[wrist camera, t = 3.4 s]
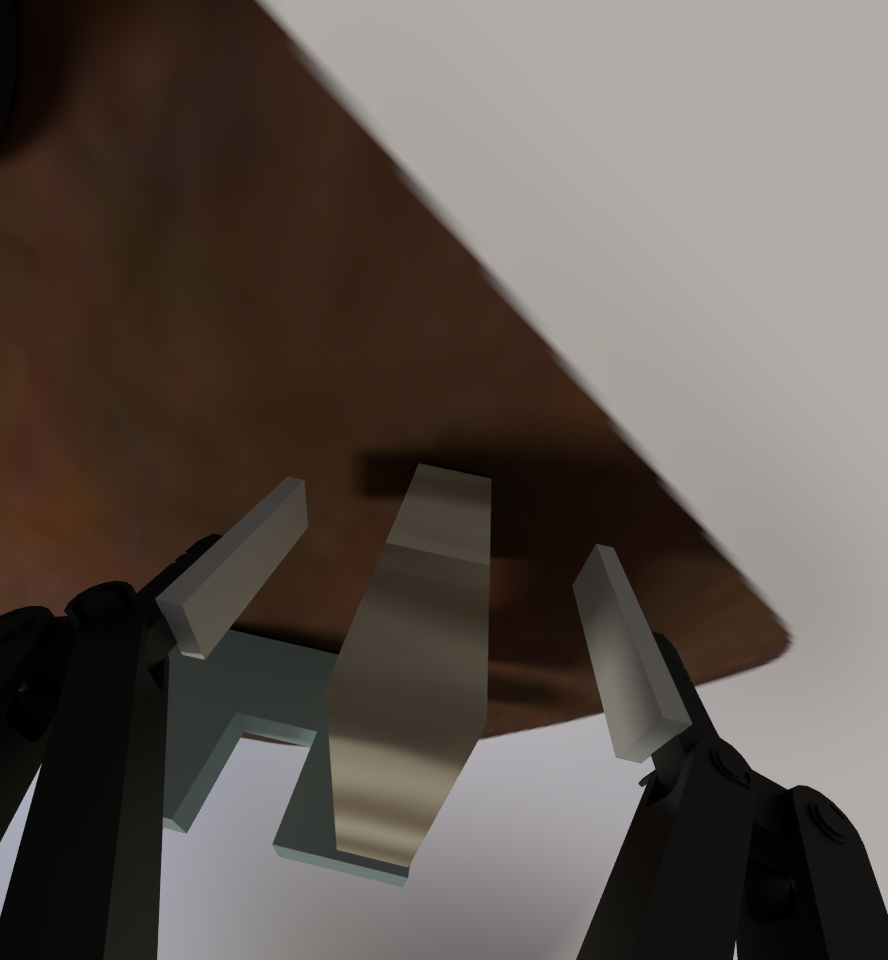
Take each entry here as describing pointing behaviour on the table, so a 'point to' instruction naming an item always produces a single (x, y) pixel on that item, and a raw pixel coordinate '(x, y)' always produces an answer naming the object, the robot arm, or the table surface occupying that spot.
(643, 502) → the table surface
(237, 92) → the table surface
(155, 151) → the table surface
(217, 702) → the base plate
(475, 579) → the beige bar
